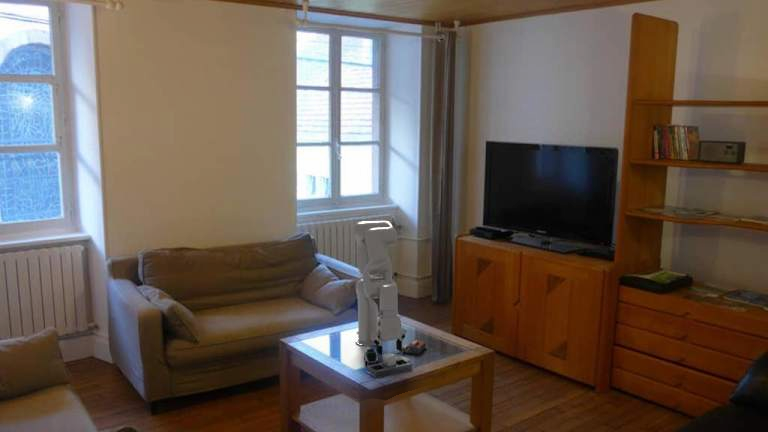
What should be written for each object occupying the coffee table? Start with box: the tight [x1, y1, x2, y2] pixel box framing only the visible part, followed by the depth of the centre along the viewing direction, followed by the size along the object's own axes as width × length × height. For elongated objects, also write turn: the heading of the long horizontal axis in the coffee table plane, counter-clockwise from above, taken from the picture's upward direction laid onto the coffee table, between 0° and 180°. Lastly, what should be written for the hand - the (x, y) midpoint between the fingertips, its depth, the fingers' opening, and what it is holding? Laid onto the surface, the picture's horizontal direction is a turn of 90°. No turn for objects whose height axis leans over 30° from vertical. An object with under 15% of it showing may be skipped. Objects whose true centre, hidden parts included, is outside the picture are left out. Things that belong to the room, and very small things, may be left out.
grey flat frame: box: [366, 358, 413, 378], centre depth 290 cm, size 18×8×2 cm, turn 122°
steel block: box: [382, 352, 397, 368], centre depth 290 cm, size 4×4×7 cm
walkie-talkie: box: [396, 339, 426, 356], centre depth 313 cm, size 9×4×20 cm
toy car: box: [363, 348, 380, 368], centre depth 300 cm, size 6×12×5 cm, turn 4°
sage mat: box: [396, 354, 411, 362], centre depth 303 cm, size 7×7×1 cm
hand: (389, 352), depth 289 cm, fingers open, 9 cm apart
